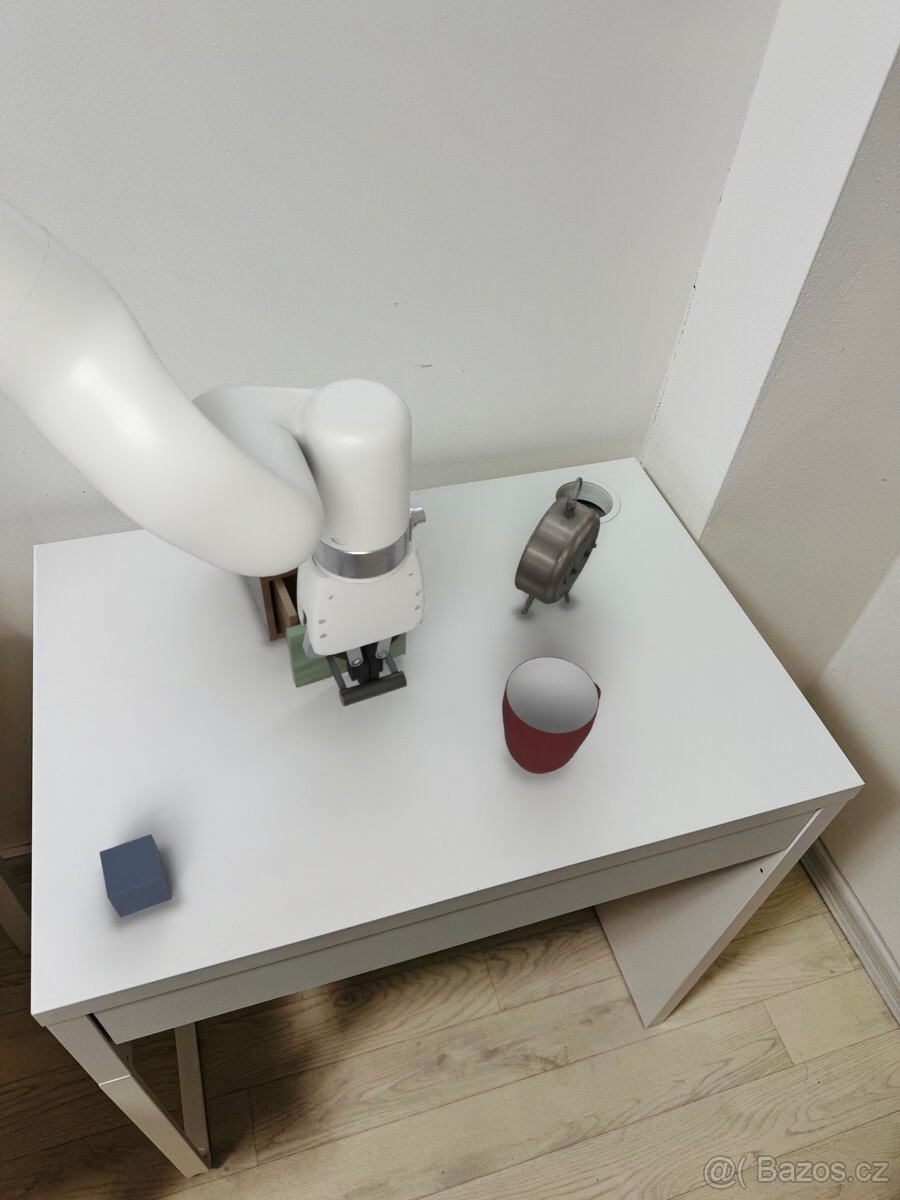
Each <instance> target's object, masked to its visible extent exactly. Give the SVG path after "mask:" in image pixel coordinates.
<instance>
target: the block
mask: <svg viewBox="0 0 900 1200" xmlns="http://www.w3.org/2000/svg"><path fill="white" fill-rule="evenodd" d="M99 859H100V863H101V869H102V874H103V875H102V876H103V880H104V884H105V891H106V894H107V895H106V897H107V899H108V900H109V902H110V904H111V906H112V907H113V909H114V910H115V912H116V913H117V915H118V916H119V918H123V917H125V916H129V915H131V914H134V913H137V912H139V911H142V910H144V909H147V908H149V907H153V906H155V905H158V904H160V903H164V902H166V901H168V900H171V899H172V895H171V890H170V887H169V882H168V878H167V874H166V869H165V865H164V861H163V857H162V854H161V851H160V850H159V848H158V846H157V843H156V842H155V839H154V837H153V835H152V833H150V834H147V835H144V836H141V837H137V838H135V839H133V840H129V841H126V842H124V843H120V844H118V845H115V846H113V847H110V848H107V849H103V850H101V851H99Z"/></svg>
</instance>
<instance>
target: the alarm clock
mask: <svg viewBox="0 0 900 1200" xmlns="http://www.w3.org/2000/svg"><path fill="white" fill-rule="evenodd" d="M583 482H584V481H583V477H582V476H578V477H577V478H576V479H575V481H573V484H572V486H571V488H570V490H569V492H568V495H564V496H560V497H558V498H557V499H556V500H555V501H554V502H553V503H552V504H551V505H550V506H549V508H548V509H547V510H546V511H545V512H544V514H543V516H542V517H541V519H540V520H539V522H538V524H537V525H536V527H535V528H534V530H533V532H532V533H531V535H530V536H529V539H528V541H527V544H526V545H525V546H524V549H523V552H522V553H521V557H520V559H519V561H518V565H517V568H516V570H515V571H516V572H515V576H514V586H515V588H516V589H517V590H518V591H521V592H523V593H525V594H526V595H528V597H527V599H526V601H525V604H524V607H523V609H522V610H521V614H522V615H524V616H525V615H527V614H528V610H529V608H530V607H531V606H532V604H533V602H534V601H535V599H536V600H538V601H539V602H541V603H542V604H545V605H553V604H555V603H558V602H560V600H561V599H562V598H564V600H565V602H566V603H567V605H568V604H570V601H571V599H570V594H569V593H570V592H571V590H572V587H573V586H574V584H575V583H576V581H577V579H578V578H579V576H580V575H581V573H582V571H583V570H584V568H585V566H586V564H587V563H588V560H589V558H590V556H591V554H592V553H593V550H594V549H596V548H597V545H598V543H596V542H597V540H598V536H599V533H600V529H601V518H600V515H599V514H598V512H597V511H596V510H595V509H592V508H591V507H589V506H587V505H585V504H582V503H581V502H578V501H577V500H578V498H579V496H580V494H581V491H582V487H583ZM578 484H579V485H578ZM577 485H578V489H577V492H576V494H575V497H574V499H573V498H572V495H573V492H574V490H575V488H576V486H577Z"/></svg>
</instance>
